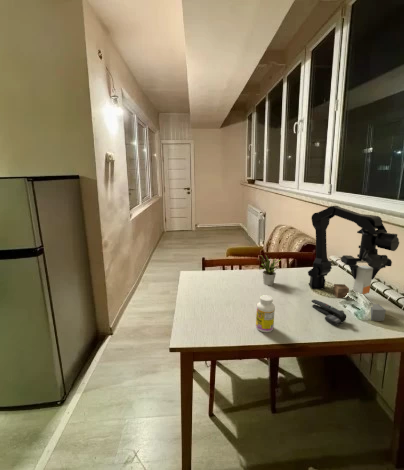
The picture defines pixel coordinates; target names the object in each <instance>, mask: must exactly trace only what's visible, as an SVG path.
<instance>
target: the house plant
mask: <svg viewBox="0 0 404 470" xmlns="http://www.w3.org/2000/svg"><path fill="white" fill-rule="evenodd" d="M261 258H262V259H259V258H256V259H257V260H259V261H261V264H260V265H261V266H263V267H261V266H260V268H259V269H258V270H263V271H262V279H263V280H262V281H263V284H264V285H265V286H273V285H274V282H275V280H276V279H275V278H276V275H277V273H276V272H275V271H276V270H277V269H278V270H279V267H277V266H276V264H278V263H279V262H280V261H282V260H283V258H282V259H279V260H277V261H276V258H277V257H276V258H274V260H273V261H272V259H270V258H269V257H268V255H265V258H266V260H265V258H264V256H263V255H261ZM271 261H272V263H271Z"/></svg>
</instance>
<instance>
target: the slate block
mask: <svg viewBox="0 0 404 470" xmlns="http://www.w3.org/2000/svg"><path fill="white" fill-rule="evenodd" d="M371 304H372V305H373V307H371V320H370V321H372V322H373V321H377V322H378V321H379V322H380V321H381V322H384V321H385V316H386V313H387V309H385V308H384V307H383V306H382V305H380V303H371Z"/></svg>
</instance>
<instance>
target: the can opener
mask: <svg viewBox="0 0 404 470" xmlns="http://www.w3.org/2000/svg"><path fill="white" fill-rule="evenodd" d="M311 303H313V304H311V305H312V306H311V307H312V308H313V309H314V310H316V311H319V312H320V313H323V314H325V315H326V316H325V317H324V320H325V321H326V322H328V323H329V324H331V325H333V326H339V325H342V324H343V323H344V322H345V321H346V320H347V314H345V311H344V310H343V309H342V310H340V309H338V308H336V307H334V306H333V305H330V304H328V303H325V302H322V301H320V300H317V299H312V300H311Z"/></svg>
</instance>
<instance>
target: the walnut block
mask: <svg viewBox="0 0 404 470" xmlns="http://www.w3.org/2000/svg"><path fill="white" fill-rule="evenodd" d="M332 291H333V292H332V293H333V295H334V296H335V297H336V298H338V299H344V298H343V297H345V296H346V295H347V293H348V292H349V291H350V288H349V287H348V286H347V285H346V284H345V283H342V284H341V283H339V284H338V283H337V284H336V283H334V284H333V288H332ZM349 293H350V292H349Z"/></svg>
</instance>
